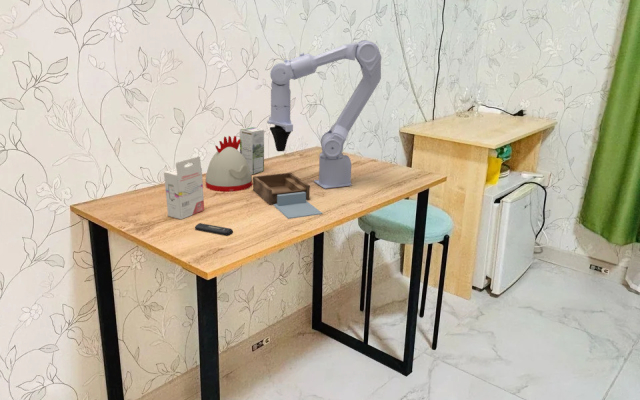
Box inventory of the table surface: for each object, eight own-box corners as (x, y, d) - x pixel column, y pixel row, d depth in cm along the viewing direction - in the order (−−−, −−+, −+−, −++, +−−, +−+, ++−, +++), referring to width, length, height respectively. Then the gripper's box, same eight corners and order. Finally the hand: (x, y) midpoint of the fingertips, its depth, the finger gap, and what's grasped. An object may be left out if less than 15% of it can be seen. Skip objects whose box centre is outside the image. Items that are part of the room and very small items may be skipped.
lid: (273, 207, 141) (273, 194, 140) (305, 202, 145) (306, 190, 144) (288, 220, 132) (288, 207, 131) (322, 215, 136) (322, 202, 135)
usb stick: (193, 231, 124) (193, 225, 123) (200, 227, 126) (199, 221, 126) (227, 237, 120) (227, 231, 120) (233, 233, 123) (233, 227, 122)
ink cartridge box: (191, 206, 139) (187, 153, 134) (204, 210, 136) (202, 155, 131) (166, 216, 132) (162, 159, 127) (180, 220, 129) (176, 162, 125)
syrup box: (251, 168, 176) (250, 126, 171) (264, 171, 172) (264, 128, 168) (239, 172, 171) (238, 128, 167) (253, 175, 168) (252, 131, 163)
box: (253, 190, 153) (252, 176, 152) (290, 185, 158) (290, 172, 157) (269, 204, 141) (269, 190, 140) (309, 199, 146) (309, 185, 145)
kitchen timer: (260, 186, 157) (260, 137, 152) (220, 194, 149) (218, 143, 144) (237, 175, 167) (235, 129, 162) (197, 183, 159) (195, 134, 154)
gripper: (259, 102, 157) (260, 146, 161) (276, 110, 144) (276, 157, 149) (281, 101, 159) (281, 144, 164) (299, 108, 147) (299, 155, 151)
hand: (280, 150), depth 156 cm, fingers closed
